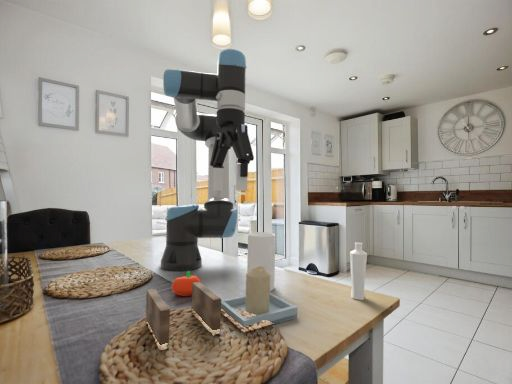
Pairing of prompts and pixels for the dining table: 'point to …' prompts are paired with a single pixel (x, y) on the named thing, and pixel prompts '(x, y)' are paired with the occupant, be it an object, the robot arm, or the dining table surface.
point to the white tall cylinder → (262, 253)
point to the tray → (276, 314)
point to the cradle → (202, 304)
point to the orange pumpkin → (184, 284)
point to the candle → (257, 290)
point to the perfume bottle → (358, 271)
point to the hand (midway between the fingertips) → (228, 190)
